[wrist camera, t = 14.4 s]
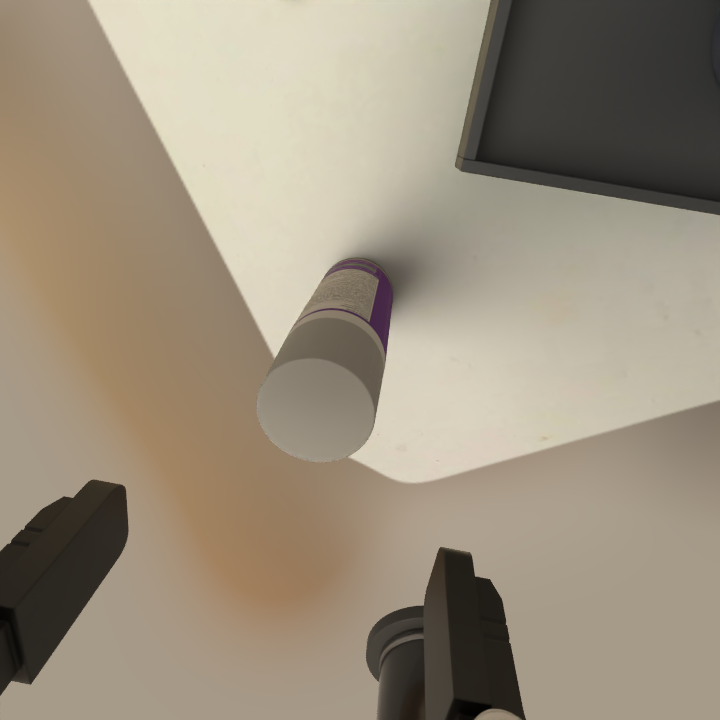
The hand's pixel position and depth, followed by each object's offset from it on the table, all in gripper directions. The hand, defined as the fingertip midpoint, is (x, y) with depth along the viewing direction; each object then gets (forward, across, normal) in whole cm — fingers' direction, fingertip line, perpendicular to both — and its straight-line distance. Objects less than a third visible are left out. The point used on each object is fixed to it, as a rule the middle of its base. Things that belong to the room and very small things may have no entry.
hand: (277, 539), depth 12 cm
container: (+21, 0, 0) cm, 21 cm away
